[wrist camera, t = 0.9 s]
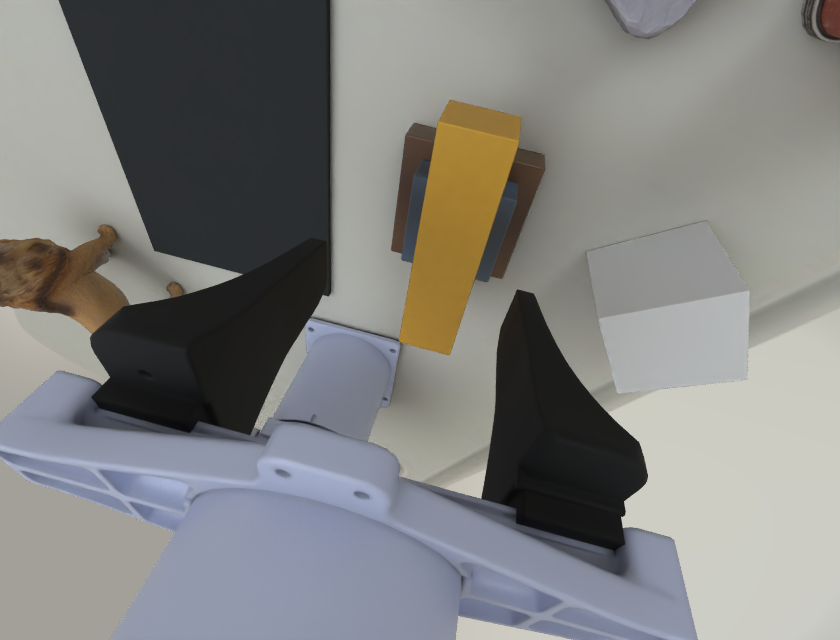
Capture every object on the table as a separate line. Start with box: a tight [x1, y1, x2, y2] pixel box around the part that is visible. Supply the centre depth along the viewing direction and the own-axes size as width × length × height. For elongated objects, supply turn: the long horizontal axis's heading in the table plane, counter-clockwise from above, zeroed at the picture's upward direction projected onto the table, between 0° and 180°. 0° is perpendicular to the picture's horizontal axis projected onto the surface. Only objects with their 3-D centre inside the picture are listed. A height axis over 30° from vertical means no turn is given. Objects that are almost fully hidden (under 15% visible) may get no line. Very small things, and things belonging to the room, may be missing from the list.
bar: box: [399, 100, 521, 355], centre depth 19 cm, size 12×3×3 cm, turn 171°
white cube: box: [586, 221, 750, 394], centre depth 22 cm, size 6×6×6 cm
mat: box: [59, 0, 331, 296], centre depth 24 cm, size 18×14×1 cm
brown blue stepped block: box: [391, 123, 545, 282], centre depth 22 cm, size 7×7×4 cm
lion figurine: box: [0, 225, 183, 334], centre depth 30 cm, size 15×5×9 cm, turn 41°
